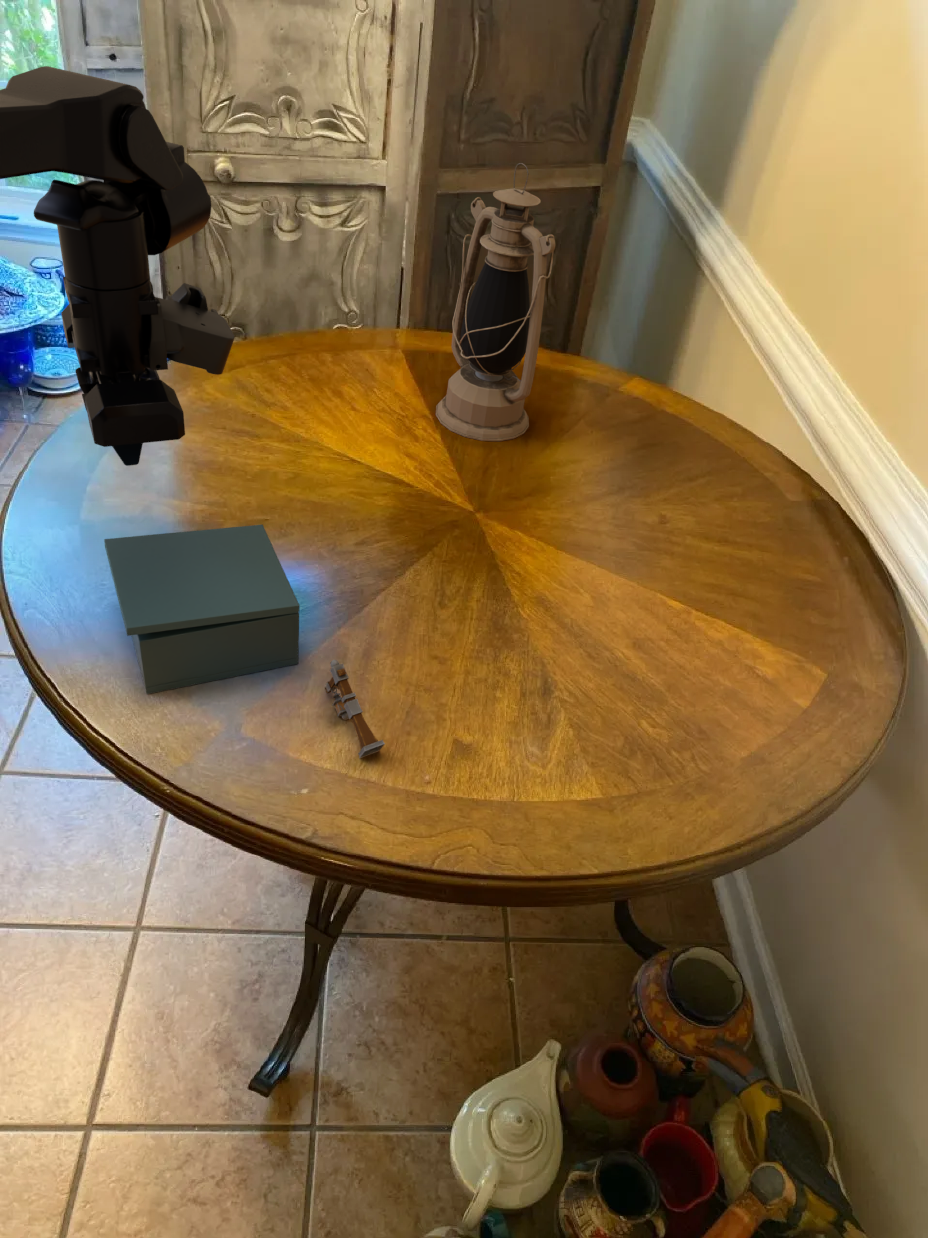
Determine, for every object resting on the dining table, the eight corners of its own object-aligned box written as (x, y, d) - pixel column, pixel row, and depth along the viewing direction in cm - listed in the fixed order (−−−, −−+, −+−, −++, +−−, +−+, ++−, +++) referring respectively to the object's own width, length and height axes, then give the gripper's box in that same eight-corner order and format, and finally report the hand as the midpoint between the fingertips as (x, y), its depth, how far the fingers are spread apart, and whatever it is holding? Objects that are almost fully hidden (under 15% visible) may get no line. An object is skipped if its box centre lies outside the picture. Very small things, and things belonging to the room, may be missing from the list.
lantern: (410, 400, 117) (436, 145, 97) (481, 382, 123) (518, 140, 104) (482, 454, 109) (526, 189, 90) (554, 432, 116) (609, 180, 96)
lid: (127, 636, 69) (126, 628, 69) (104, 546, 77) (104, 538, 76) (299, 612, 75) (299, 605, 74) (262, 531, 82) (262, 524, 82)
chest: (146, 694, 74) (139, 641, 70) (123, 604, 81) (115, 552, 78) (298, 664, 79) (299, 613, 75) (263, 581, 86) (262, 531, 83)
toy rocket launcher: (333, 674, 77) (345, 652, 73) (371, 760, 75) (386, 742, 71) (314, 681, 76) (325, 659, 72) (351, 768, 74) (365, 750, 70)
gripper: (253, 324, 62) (257, 513, 72) (195, 226, 74) (205, 400, 85) (78, 334, 58) (108, 533, 68) (47, 228, 70) (76, 411, 80)
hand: (131, 462), depth 75 cm, fingers closed
